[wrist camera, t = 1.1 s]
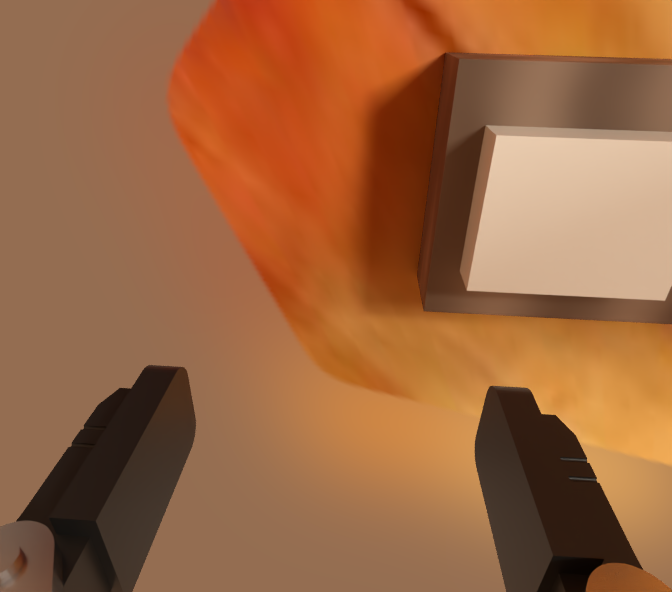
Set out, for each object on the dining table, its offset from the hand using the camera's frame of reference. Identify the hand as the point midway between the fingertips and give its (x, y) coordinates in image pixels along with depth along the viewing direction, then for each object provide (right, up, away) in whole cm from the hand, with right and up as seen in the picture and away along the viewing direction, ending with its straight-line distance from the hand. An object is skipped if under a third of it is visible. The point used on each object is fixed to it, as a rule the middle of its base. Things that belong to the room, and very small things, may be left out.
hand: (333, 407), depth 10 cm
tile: (+11, +6, +11) cm, 17 cm away
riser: (+12, +8, +15) cm, 21 cm away
